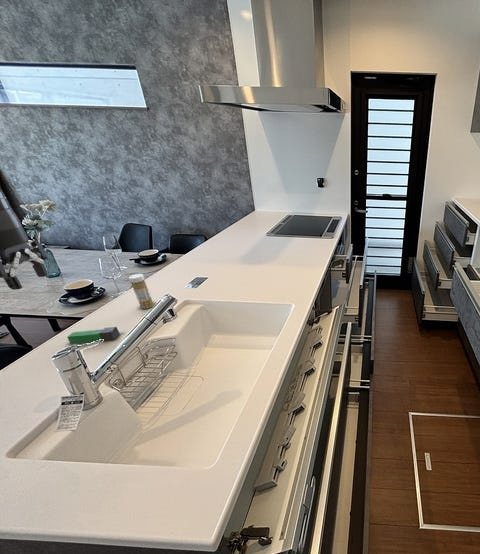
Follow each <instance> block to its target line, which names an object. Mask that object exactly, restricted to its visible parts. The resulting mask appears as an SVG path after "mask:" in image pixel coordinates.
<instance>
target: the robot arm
mask: <svg viewBox="0 0 480 554" xmlns="http://www.w3.org/2000/svg"><path fill="white" fill-rule="evenodd" d="M48 259H49V257H48V254H47V253H46V251H45V250H44V248H43V247H42V244H41V242H40V241H39V240H30V239H29V237H28V234H27V233H26V231H25V229H24V227H23V225H22V223H21V220H20V219H19V217H18V216H17V214H16V213H15V211H14V210H13V208H12V207H11V205H10V203H9V200H8V199H7V197H6V195H5V193H4V192H3V190H2V189H1V188H0V279H3V280H4V283H6V285H7V287H8V288H9V289H11V290H13V291H17V290H21V289H23V285H22V283H21V282H20V280H19V278H18V276H17V275H16V270H18V268H19V265H22V264H23V263H24V262H28V263H29V264H31V266H32V268H33V270H34V272H35V274H36V276H37V277H38V278H44V277H47V276H48V274H49V273H48V270H47V268H46V267H45V265H44V263H45V261H46V260H48Z"/></svg>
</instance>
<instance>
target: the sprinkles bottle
mask: <svg viewBox="0 0 480 554" xmlns="http://www.w3.org/2000/svg"><path fill="white" fill-rule="evenodd" d="M128 280H129V283H130V284H131V286H132V289H133V292H134V295H135V296H136V299H137V302H138V304H139V306H140V309H143V310H145V309H150V308H152V307H153V306H154V305H155V303H154V301H153V298H152V295H151V293H150V290H149V288H148V286H147V283H146V281H145V276H144V274H142V273H136V274H132V275H129V277H128Z"/></svg>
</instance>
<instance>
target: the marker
mask: <svg viewBox="0 0 480 554" xmlns="http://www.w3.org/2000/svg"><path fill="white" fill-rule="evenodd" d="M120 335H121V334H120V331H119V329H118V327H117V326H110V327H104V328H102V329H92V330H82V331H73V332H71V333H70V334H69V335H68V336H66V337H67V340H68V342H69V343H70V345H73V344H85V343H93V341H95V342H97V341H96V340H99V339H104V341H103V342H109V341H115V340H117V338H118V337H119V336H120Z"/></svg>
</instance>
